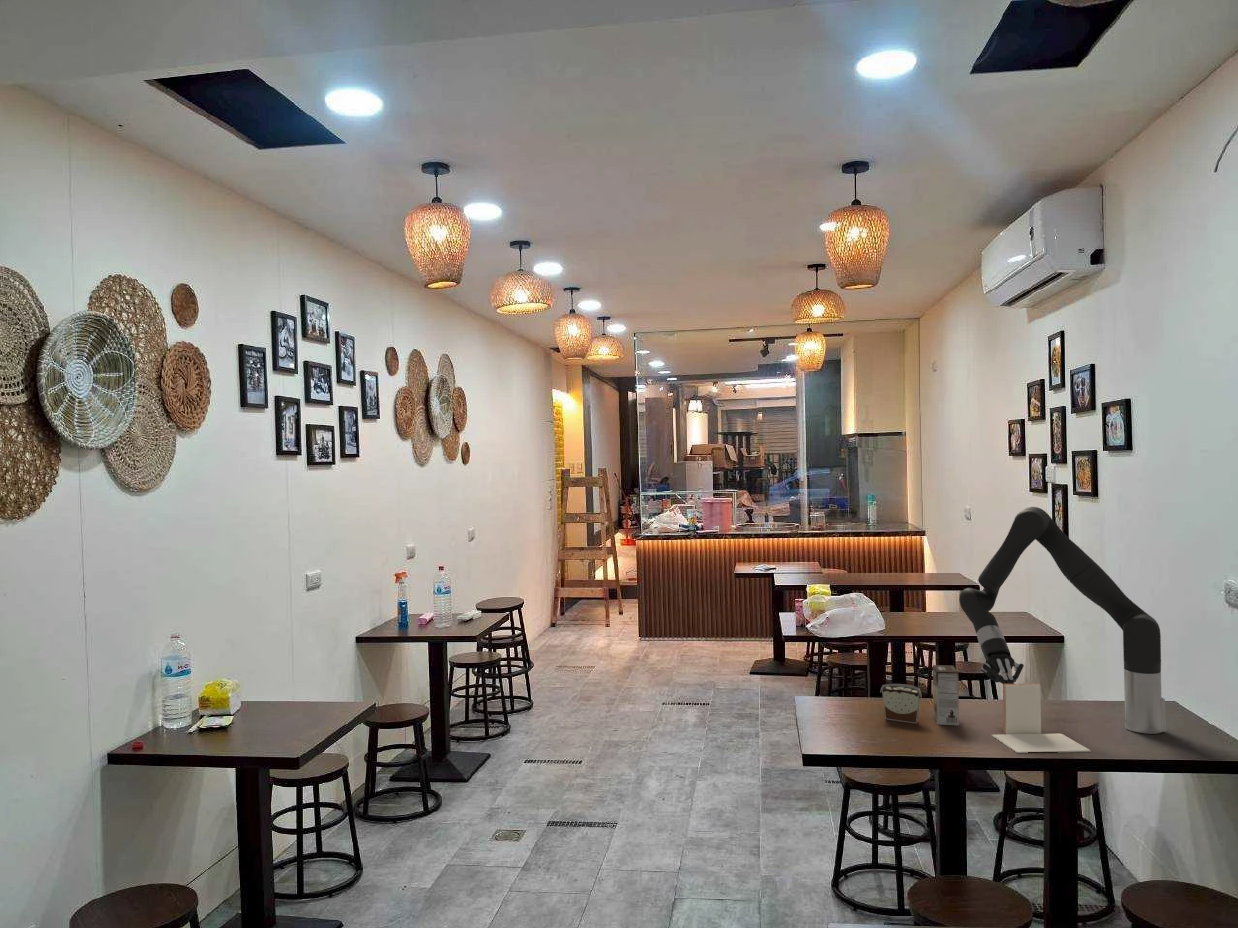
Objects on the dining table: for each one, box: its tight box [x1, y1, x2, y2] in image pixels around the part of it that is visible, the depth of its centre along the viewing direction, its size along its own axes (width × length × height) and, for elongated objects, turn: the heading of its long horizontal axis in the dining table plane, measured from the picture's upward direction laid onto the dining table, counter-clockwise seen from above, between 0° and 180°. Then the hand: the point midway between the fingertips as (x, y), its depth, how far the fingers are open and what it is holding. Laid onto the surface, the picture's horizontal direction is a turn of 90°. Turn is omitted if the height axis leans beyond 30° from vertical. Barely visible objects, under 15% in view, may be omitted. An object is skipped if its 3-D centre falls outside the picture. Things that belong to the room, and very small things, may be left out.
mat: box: [991, 733, 1092, 754], centre depth 238 cm, size 20×15×1 cm
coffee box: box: [932, 664, 960, 726], centre depth 261 cm, size 9×6×16 cm
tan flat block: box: [1002, 682, 1042, 734], centre depth 248 cm, size 10×2×14 cm, turn 91°
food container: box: [879, 683, 923, 724], centre depth 264 cm, size 12×6×10 cm, turn 58°
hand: (1012, 693), depth 254 cm, fingers closed
